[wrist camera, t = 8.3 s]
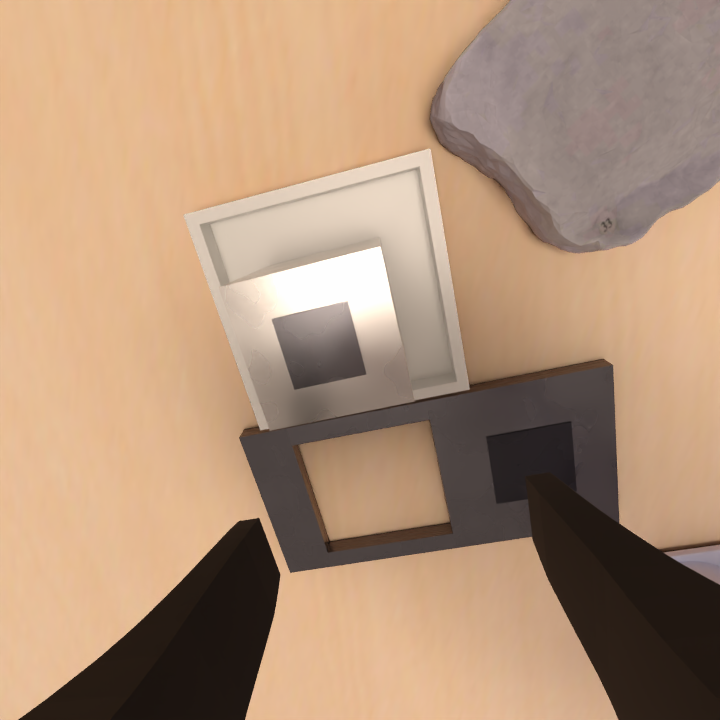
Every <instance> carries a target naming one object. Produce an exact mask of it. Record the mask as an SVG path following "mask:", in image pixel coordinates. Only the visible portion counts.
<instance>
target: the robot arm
mask: <svg viewBox="0 0 720 720" xmlns="http://www.w3.org/2000/svg"><path fill="white" fill-rule="evenodd" d="M525 480H526V488H527V497H528V505H529V513H530V522H531V530H532V538H533V542H534V544H535V547H536V550H537V552H538V555H539V557H540V560H541V563H542V565H543V568H544V570H545V573H546V575H547V578H548V580H549V582H550V584H551V586H552V588H553V590H554V592H555V594H556V595H557V597H558V599H559V601H560V603H561V605H562V607H563V609H564V611H565V613H566V615H567V617H568V619H569V620H570V622H571V624H572V626H573V628H574V630H575V632H576V634H577V636H578V638H579V640H580V641H581V643H582V645H583V647H584V649H585V651H586V653H587V655H588V657H589V659H590V661H591V663H592V664H593V666H594V668H595V670H596V672H597V674H598V676H599V678H600V680H601V682H602V684H603V686H604V688H605V690H606V692H607V695H608V697H609V699H610V701H611V703H612V705H613V708H614V710H615V712H616V715H617V717H618V719H619V720H720V545H713V546H706V547H699V548H692V549H685V550H678V551H670V552H662V551H660V550H658V549H657V548H655V547H654V546H652V545H651V544H649V543H647V542H646V541H644V540H643V539H641V538H640V537H638V536H637V535H635V534H634V533H632V532H631V531H629V530H628V529H626V528H625V527H623V526H622V525H621V524H619V523H618V522H616V521H615V520H613V519H612V518H611V517H609V516H608V515H606V514H605V513H603V512H602V511H601V510H599V509H598V508H597V507H595V506H594V505H593V504H591V503H590V502H589V501H587V500H586V499H585V498H583V497H582V496H581V495H579V494H578V493H577V492H575V491H574V490H573V489H571V488H570V487H569V486H568V485H566V484H565V483H564V482H562V481H561V480H560V479H558V478H557V477H556V476H555V475H553V474H552V473H550V472H548V473H541V474H535V475H529V476H525ZM279 581H280V572H279V570H278V567H277V564H276V562H275V559H274V556H273V554H272V551H271V548H270V546H269V543H268V540H267V538H266V535H265V532H264V530H263V527H262V524H261V522H260V519H259V518H257V519H250V520H244V521H239V522H237V523H236V524H235V525H234V526H233V527H232V528H231V529H230V530H229V531H228V532H227V533H226V534H225V535H224V536H223V537H222V539H221V540H220V541H219V542H218V543H217V544H216V545H215V546H214V547H213V548H212V549H211V550H210V551H209V552H208V553H207V555H206V556H205V557H204V558H203V559H202V560H201V561H200V562H199V563H198V564H197V565H196V566H195V567H194V568H193V569H192V570H191V571H190V573H189V574H188V575H187V576H186V577H185V578H184V579H183V580H182V581H181V582H180V583H179V584H178V585H177V586H176V587H175V588H174V589H173V590H172V591H171V592H170V593H169V594H168V595H167V596H166V597H165V598H164V599H163V600H162V601H161V602H160V603H159V604H158V605H157V606H156V607H155V608H154V609H153V610H152V611H151V612H150V613H149V614H148V615H147V616H146V617H145V618H143V619H142V620H141V621H140V622H139V623H138V624H137V625H136V626H135V627H134V628H133V629H132V630H130V631H129V632H128V633H127V634H126V635H125V636H124V637H123V638H121V639H120V640H119V641H118V642H117V643H116V644H115V645H113V646H112V647H111V648H110V649H109V650H108V651H106V652H105V653H104V654H103V655H102V656H101V657H99V658H98V659H97V660H96V661H95V662H93V663H92V664H91V665H90V666H88V667H87V668H86V669H84V670H83V671H82V672H81V673H79V674H78V675H77V676H76V677H74V678H73V679H72V680H70V681H69V682H68V683H67V684H65V685H64V686H63V687H62V688H60V689H59V690H58V691H56V692H55V693H54V694H53V695H51V696H50V697H49V698H47V699H46V700H45V701H43V702H42V703H41V704H39V705H38V706H37V707H35V708H34V709H32V710H31V711H30V712H28V713H27V714H26V715H24V716H23V717H21V718H20V719H19V720H245V717H246V713H247V710H248V706H249V703H250V699H251V695H252V692H253V688H254V685H255V681H256V678H257V674H258V671H259V667H260V664H261V660H262V657H263V653H264V650H265V646H266V643H267V639H268V635H269V632H270V628H271V625H272V621H273V617H274V613H275V607H276V601H277V595H278V588H279Z"/></svg>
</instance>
